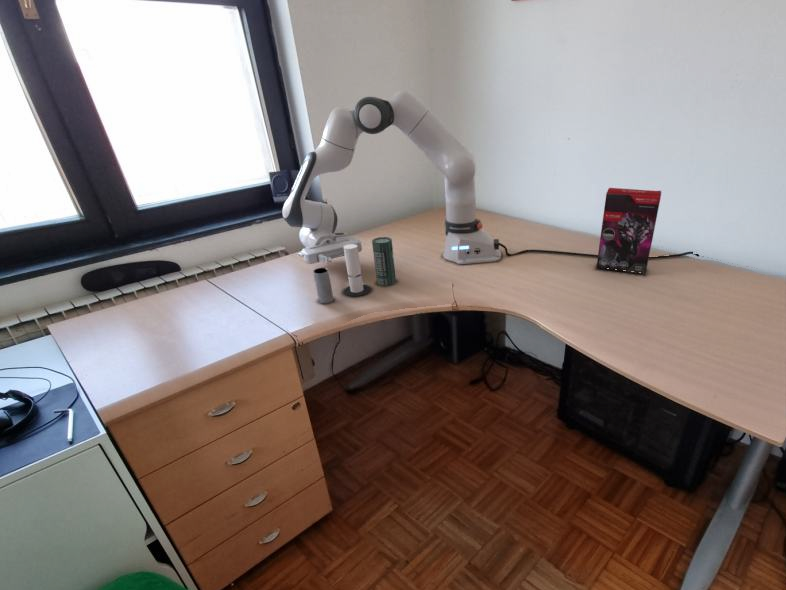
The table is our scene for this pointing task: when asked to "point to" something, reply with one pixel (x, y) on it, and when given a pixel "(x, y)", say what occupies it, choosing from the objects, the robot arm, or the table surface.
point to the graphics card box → (627, 229)
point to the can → (384, 261)
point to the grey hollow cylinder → (323, 285)
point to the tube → (353, 268)
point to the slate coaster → (366, 290)
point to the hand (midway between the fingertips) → (342, 256)
